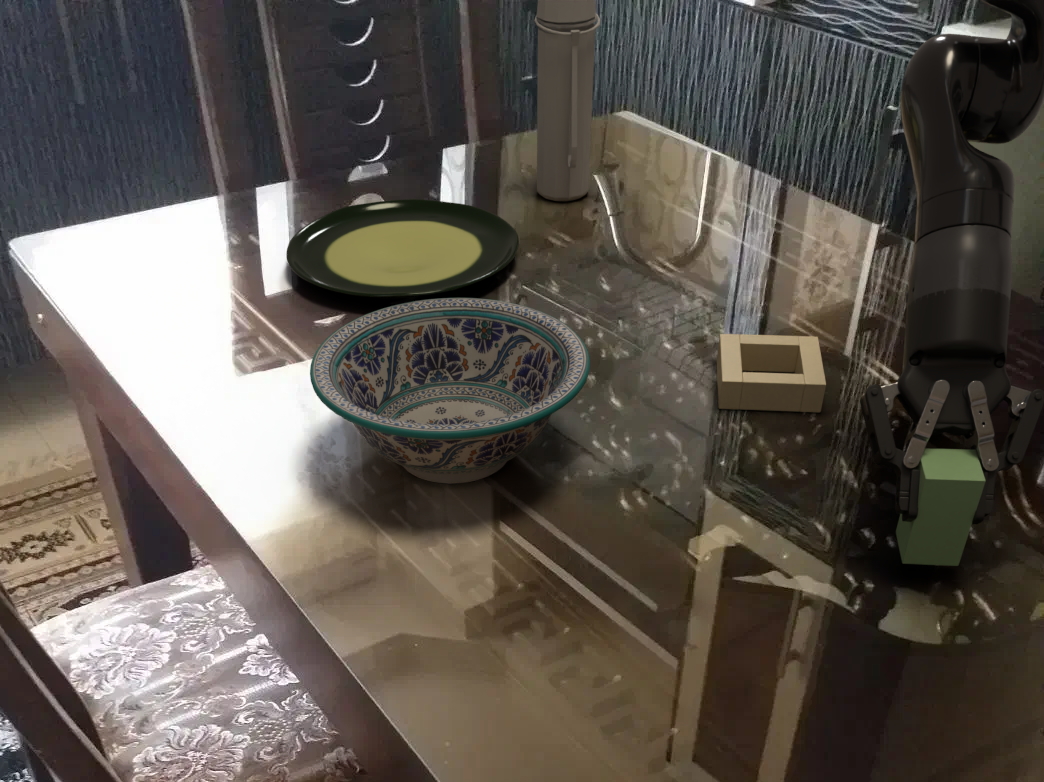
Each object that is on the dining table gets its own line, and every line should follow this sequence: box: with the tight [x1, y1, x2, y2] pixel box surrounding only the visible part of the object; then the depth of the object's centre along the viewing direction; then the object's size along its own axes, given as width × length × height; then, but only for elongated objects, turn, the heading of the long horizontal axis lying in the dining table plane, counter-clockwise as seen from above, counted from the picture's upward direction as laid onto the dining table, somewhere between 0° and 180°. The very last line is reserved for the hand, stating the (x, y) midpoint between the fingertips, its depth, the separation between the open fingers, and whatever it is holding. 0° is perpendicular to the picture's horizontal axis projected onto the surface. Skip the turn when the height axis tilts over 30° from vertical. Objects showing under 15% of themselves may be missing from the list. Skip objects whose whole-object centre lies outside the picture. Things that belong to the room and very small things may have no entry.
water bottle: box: [533, 0, 601, 202], centre depth 144 cm, size 9×8×25 cm
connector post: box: [895, 447, 986, 567], centre depth 91 cm, size 4×4×8 cm
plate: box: [285, 198, 520, 299], centre depth 138 cm, size 28×28×2 cm
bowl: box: [309, 297, 591, 484], centre depth 106 cm, size 25×25×10 cm
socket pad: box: [715, 333, 827, 413], centre depth 115 cm, size 10×10×3 cm
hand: (942, 520), depth 90 cm, fingers closed on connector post, 4 cm apart
